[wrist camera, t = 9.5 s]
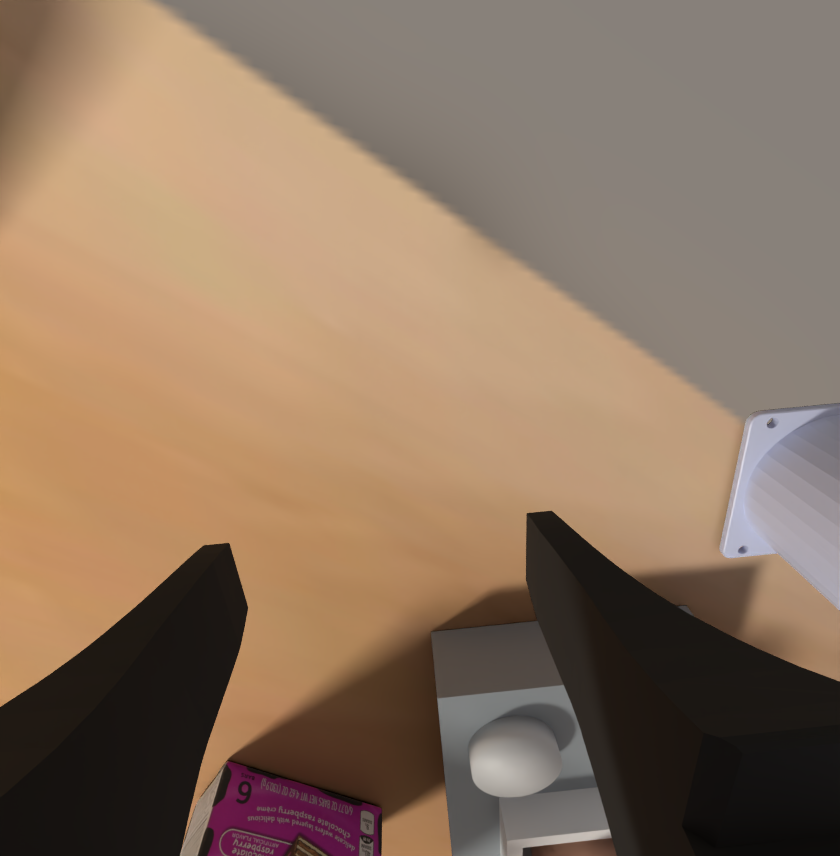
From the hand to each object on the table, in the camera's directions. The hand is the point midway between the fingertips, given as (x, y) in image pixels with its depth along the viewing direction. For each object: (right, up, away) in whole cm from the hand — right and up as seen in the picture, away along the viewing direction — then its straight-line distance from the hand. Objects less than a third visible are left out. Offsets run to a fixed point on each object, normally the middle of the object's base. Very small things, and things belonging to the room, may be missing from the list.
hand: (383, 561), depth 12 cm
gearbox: (+9, -16, +19) cm, 27 cm away
